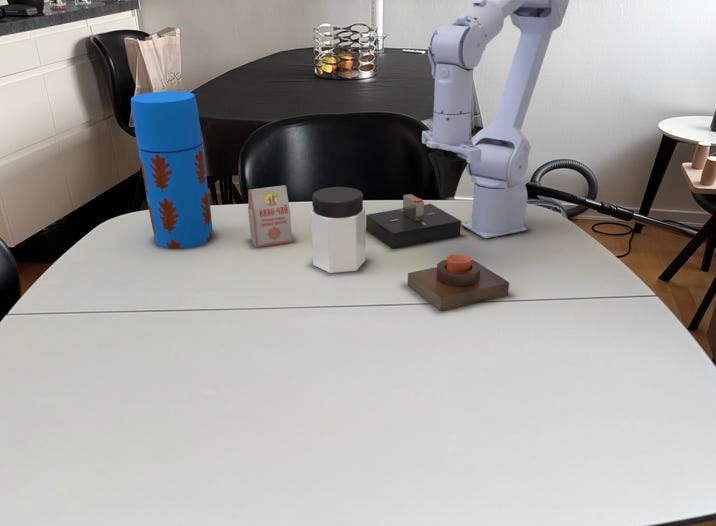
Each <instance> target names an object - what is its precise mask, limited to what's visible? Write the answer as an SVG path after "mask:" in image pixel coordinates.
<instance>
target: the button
mask: <svg viewBox="0 0 716 526" xmlns="http://www.w3.org/2000/svg"><path fill="white" fill-rule="evenodd" d="M446 260H447V270H449V271H452V272H468V271H470V267H471V260H472V258H471V257H470V256H469V255H466V254H462V253H461V254H460V253H457V254H456V253H455V254H451V255H448V256H447V258H446Z"/></svg>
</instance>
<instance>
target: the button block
mask: <svg viewBox="0 0 716 526" xmlns="http://www.w3.org/2000/svg"><path fill="white" fill-rule="evenodd" d="M407 287H409V288H410V289H411V290H413V292H415V293H416V294H417V295H419V296H420V297H421V298H423V299H424V300H425V301H426V302H428V303H429V304H430V305H431V306H433V307H434V308H436V309H437V310H438V311H439V312H444V311H447V310H452V309H456V308H461V307H464V306H469V305H473V304H476V303H477V304H478V303H481V302H487V301H489V300H490V301H491V300H494V299H498V298H502V297H503V298H504V297H507V296H509V288H510V281H508V280H506V279H505V278H503V277H502V276H500V275H499V274H496V273H495V272H493V271H492V270H490V269H489V268H487V267H485V266H484V265H482V264H480V263H479V262H477V261H476V260H474V259H471V267H470V271H468V272H452V271H449V270H447V259H443V260H441V261H440V262H438V263H436V266H435V267H429V268H426V269H421V270H420V269H419V270H415V271H411V272H408V273H407Z"/></svg>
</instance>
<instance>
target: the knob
mask: <svg viewBox="0 0 716 526" xmlns="http://www.w3.org/2000/svg"><path fill="white" fill-rule="evenodd" d="M402 198H403V199H402V209H403V214H404V215H405V216H407V217H408V218H410V219H412V220H413V221H415V222H419V221H423V212H424V205H425V201H424V199H422V198H419V197H417V196H415V195H414V194H411V193H409V194H403V195H402Z"/></svg>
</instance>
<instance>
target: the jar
mask: <svg viewBox="0 0 716 526" xmlns="http://www.w3.org/2000/svg"><path fill="white" fill-rule="evenodd" d="M311 202H312V204H311V205H312V211H311V212H310V224H311V225H310V226H311V245H312V246H311V247H312V248H311V249H312V264H313V266H314V267H316V268H318V269H320V270H323V271H325V272H327V273H328V274H336V273H347V272H348V273H349V272H357V271H358V269H359V268H360V267H361V266H362V265H363V264H364V263H365V262H366V208H365V207H363V206H364V194H363V192H362V191H361V190H360V189H357V188H353V187H347V186H332V187H324V188H321V189H318V190H316V191H315V192H313V194H312V200H311Z"/></svg>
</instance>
